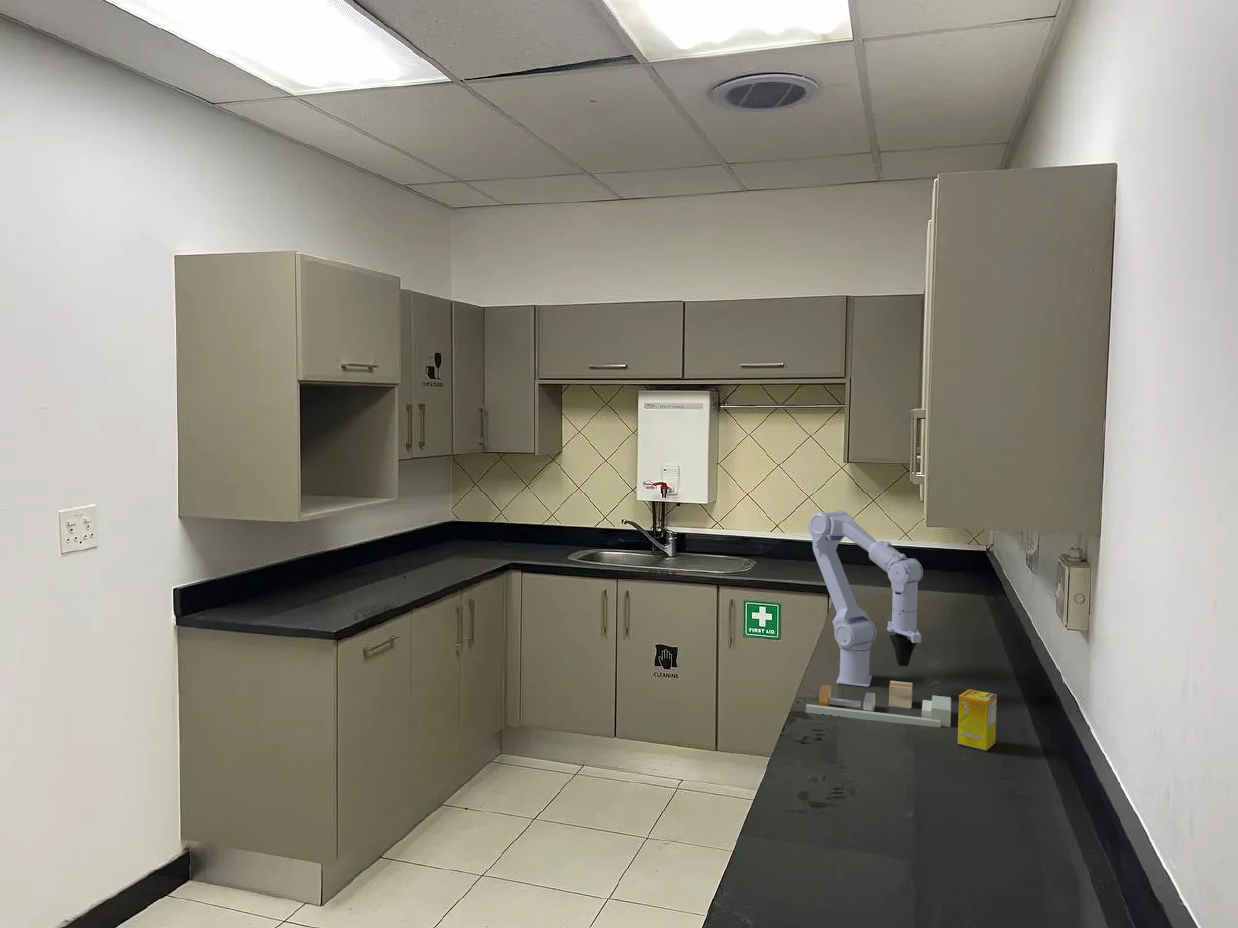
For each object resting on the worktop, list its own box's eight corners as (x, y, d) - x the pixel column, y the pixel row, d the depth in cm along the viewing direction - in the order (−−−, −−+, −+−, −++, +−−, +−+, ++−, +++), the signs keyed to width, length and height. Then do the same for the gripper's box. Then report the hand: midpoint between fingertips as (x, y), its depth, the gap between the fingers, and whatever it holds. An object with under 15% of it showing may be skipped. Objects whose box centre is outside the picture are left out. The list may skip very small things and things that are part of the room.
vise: (812, 698, 220) (812, 682, 220) (950, 714, 210) (950, 697, 210) (805, 712, 210) (806, 695, 210) (950, 729, 200) (950, 711, 199)
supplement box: (966, 739, 194) (968, 688, 193) (995, 746, 190) (997, 694, 189) (956, 747, 189) (958, 694, 188) (986, 754, 185) (988, 700, 185)
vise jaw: (822, 699, 219) (823, 683, 218) (874, 705, 215) (875, 688, 214) (818, 709, 211) (818, 692, 211) (872, 716, 207) (872, 698, 207)
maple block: (889, 701, 220) (890, 680, 219) (911, 703, 218) (912, 682, 218) (888, 707, 215) (889, 686, 215) (911, 709, 213) (911, 688, 213)
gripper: (876, 603, 229) (875, 657, 229) (901, 616, 214) (899, 673, 215) (903, 603, 229) (902, 657, 230) (930, 615, 215) (928, 673, 216)
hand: (903, 665), depth 223 cm, fingers closed
